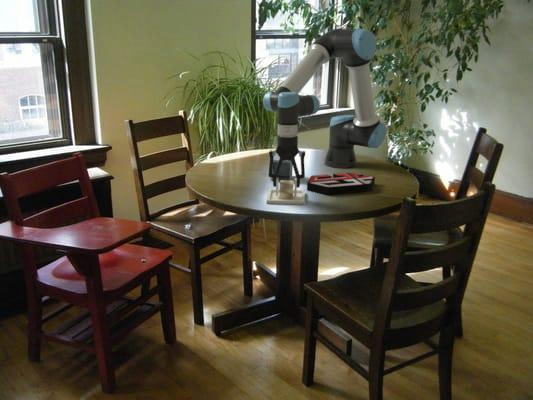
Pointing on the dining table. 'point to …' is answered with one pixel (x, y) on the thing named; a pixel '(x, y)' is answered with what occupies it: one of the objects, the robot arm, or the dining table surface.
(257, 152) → the dining table surface
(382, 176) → the dining table surface
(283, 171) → the open box
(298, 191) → the tray
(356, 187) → the emblem
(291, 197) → the block
